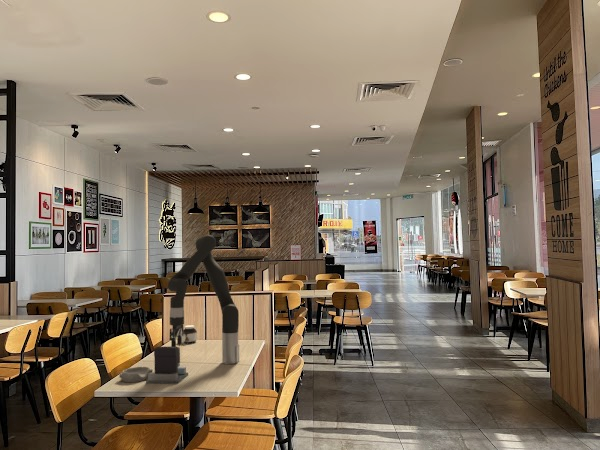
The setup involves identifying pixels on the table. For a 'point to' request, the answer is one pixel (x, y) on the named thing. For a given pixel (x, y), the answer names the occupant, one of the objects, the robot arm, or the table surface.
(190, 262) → the robot arm
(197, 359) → the table surface
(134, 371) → the dish
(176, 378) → the vise
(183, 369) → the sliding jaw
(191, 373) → the table surface
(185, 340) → the spread jar
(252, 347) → the table surface
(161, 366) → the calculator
